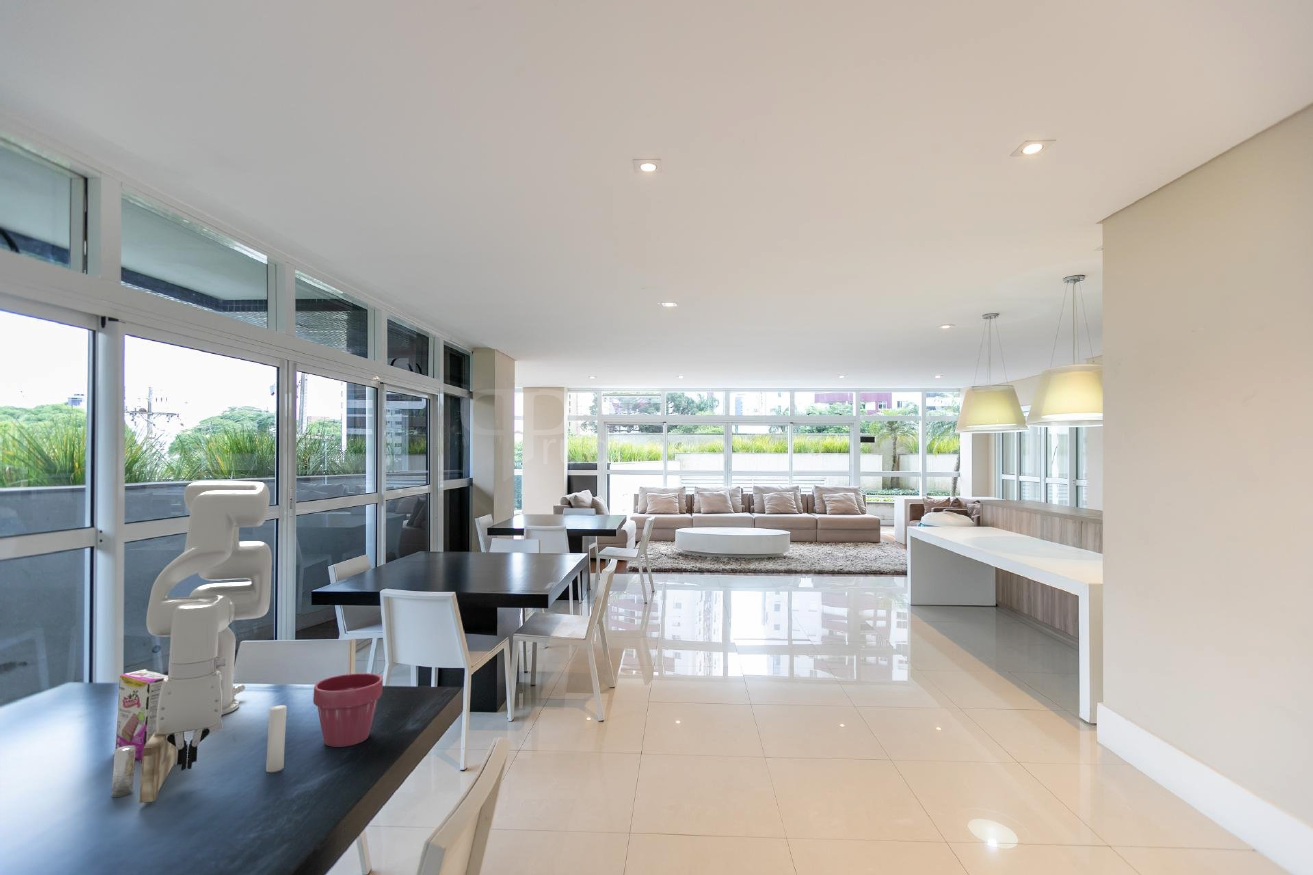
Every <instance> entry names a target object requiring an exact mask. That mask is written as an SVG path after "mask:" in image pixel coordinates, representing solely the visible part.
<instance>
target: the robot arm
mask: <svg viewBox="0 0 1313 875" xmlns="http://www.w3.org/2000/svg"><path fill="white" fill-rule="evenodd" d="M183 490H184V491H183V501H184V504H185V507H186V508H187V510H188V511H189V518H188V525H187V532H186V533H187V534H186V538H185V544H184V551H183V552H182V553H181V554H180V555H178V556H177V557H176V558H174V559H173V560H172V561H170V563H169V564H167V565H166V566H165V567H164V568H163V569H162V571H161V572H160V573H158V574H159V575H158V576H157V577H156V579H155V580H154V583H153V585H152V586H151V590H150V591H151V592H150V596H149V601H148V606H147V611H146V618H145V621H146V622H145V623H146V624H145V625H146V629H147V632H148V633H149V634H150V635H152V636H154V637H160V638H164V637H170V640H169V642H170V643H169V656H168V657H169V658H168V659H169V660H168V672H167V673H168V674H167V675H168V677H165V678H164V679H163V682H162V686H161V690H160V695H159V702H158V709H157V717H156V732H155V734H154V737H155V736H161V735H166V741H168V742H170V743H171V744H172V745H174V746H175V747H176V748H177V749H178V758H177V765H176V766H180V765H181V766H180V771H185V770H186V769H187V770H191V769H192V767H193V763H196V762H197V759H198V746H199V744H200V743H202V742H203V740H204V739H205V738H207V737H208V736H209V735H212V734H214V733H216V732H217V733H218V732H219V731H221V730H222V729H223V728H224V727H223V722H222V715H223V716H224V715H226V714H229V713H232V712H233V711H235V710H237V709H238V708H240V701H239V700H238V699H236V696H237V695H238V694H239V693H243V692H244V691H245V690H246V689H245V688H246V686H245V685H244V684H242V683H241V684H238V685H236V686H234V674H235V672H234V671H235V659H236V657H235V656H236V635H235V632H234V631H233V630H232V629H231V628H230V627H229V625H230V624H231V623H232V622H233V621H240V620H253V619H258V618H259V619H260V618H261V617H264V616H265V615H267V613H268V611H269V609H270V604H271V591H272V590H271V587H272V565H273V562H272V561H273V560H272V559H273V557H272V555H273V554H272V550H271V547H270V546H269V545H268V543H266V542H264V541H256V540H255V541H254V540H253V541H240V539H239V537H240V536H239V535H240V528H254V527H255V528H256V527H260V526H263V524H264V523H265V521H266V520H267V516H268V513H269V507H270V501H271V493H270V489H269V487H268V485H267V484H265V483H264V482H260V481H226V480H225V481H220V480H217V481H214V480H208V481H207V480H205V481H196V482H195V481H194V482H192V483H190V484H188V485H186V486H185V487H184V489H183ZM195 574H196V575H197V574H198V576H199V578H201V579H203V580H206V581H229V580H230V582H219V583H218V582H217V583H206V584H203V585H200V586H198V587H196V588H194V589H193V590H192V591H191V593H190V594H189V596H176V597H175V596H174V597H169V595H170V592H171V591H172V590H173V588H174V587H175V586H176V585H177V584H179V583H180V582H181V581H184V580H185V579H187V578H189V577H192V576H194V575H195ZM233 580H248V581H238V582H231V581H233ZM184 732H185V733H187V732H193V735H192V739H190V741H189V743H188V742H187V740H186V736H185V737H184Z"/></svg>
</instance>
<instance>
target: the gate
mask: <svg viewBox="0 0 1313 875" xmlns="http://www.w3.org/2000/svg"><path fill="white" fill-rule="evenodd" d="M155 732H156V731H155ZM155 732H154V734H155ZM154 734H153V735H152V737H151V738H150V739H149V741H148V742H147V744H146V745H145V746H144V748H143V756H142V761H141V772H140V773H141V774H140V789H139V803H138V804H145V803H151V802H155V801H156V800H157V798H158V794H159V791H160V789H161V787H162V786H163V783H164V781H165V780H166V779H167V777H168V775H169V773H170V771H171V770H172V768H173V767H174V766H173V764H174V763H175V756H176V747H175V746H174V745H172V744H171V743H170V742H168V741H166V735H161V736H155V737H154Z"/></svg>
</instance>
